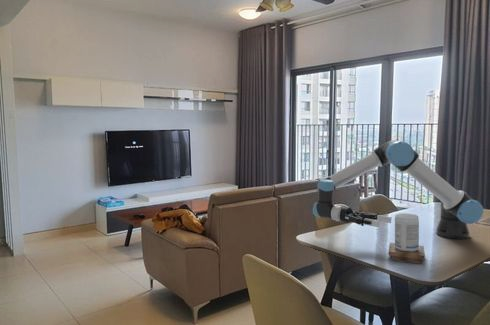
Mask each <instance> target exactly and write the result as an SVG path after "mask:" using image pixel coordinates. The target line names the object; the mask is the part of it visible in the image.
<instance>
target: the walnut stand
mask: <svg viewBox="0 0 490 325" xmlns="http://www.w3.org/2000/svg"><path fill="white" fill-rule="evenodd" d="M387 254H388V256H392V257H391V260H392V261H395V262H403V263H411V264H419V265H420V264H421V262H422V261H421V260H426V254H425V246H424V245H420V244H419V249H418V250H417V251H413V252H410V251H408V252H407V251H401V250H398V249H397V248H396V247H395V242H389V246H388V253H387Z"/></svg>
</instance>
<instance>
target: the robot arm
mask: <svg viewBox="0 0 490 325" xmlns="http://www.w3.org/2000/svg"><path fill="white" fill-rule="evenodd" d="M388 164H391V165H392V166H393V167H395V169H397V170H398V171H400V172H401V173H407V174H408V175H409V176H410V177H412V178H413V179H414V180H415V181H416V182H418V183H419V184H420V185H421V186H423V188H425V189H426V191H428V192H430V193H431V194H432V195H433V196H435V197H436V198H437V199H438V200H439V201H440V220H439V221H438V224H437V227H436V229H435V230H436V232H435V233H436V235H437V236H441V237H444V238H448V239H458V240H459V239H460V240H463V239H464V240H465V239H468V238H470V230H469V227H468V224H469V225H471V224H475V223H478V222H479V221H480V220H481V219H482V217H483V216H484V207H483V205H482V204H481V203H480V202H479V200H476V199H473V198H472V197H471V196H470V195H469V194H467V193H468V192H466V191H464V190H457V189H456V188H455V187H453V186H452V184H450V183H449V182H448V181H446V180H445V179H444V178H443V177H441V176H440V175H439V174H437V172H436V171H434V170H433V169H432V168H431V167H429V165H427V164H426V163H425V162H423V161H422V160H421V159H420V154H419V153H418V152H417V151H415V149H414V148H413V147H412V146H411V144H409V143H408V142H406V141H403V140H392V139H391V140H388V141H387V142H385V143H383V144H381V145H379V146H378V147H376V148H375V149H373V150H372V151H371V152H370V154H368V155H366V156H364V157H363V158H360V159H359V160H357V161H355V162H353V163H351V164H349V165H348V166H346V167H344V168H341V169H340V170H338V171H337V172H335V173H333V174H332V175H329V176H328V177H326V178H324V179H320V180H319V181H318V182H317V183H316V190H317V192H318V194H317V195H318V196H317V201H315V202H314V203H313V207H312V214H313V216H315V217H319V218H322V219H327V220H333V221H335V222H342V223H347V224H349V223H354V224H356V225H360V226H361V227H364V226H370V227H375V228H380V222H382V223H386V224H387V223H388V224H391V223H392V217H391V216H386V215H381V214H379V213H378V212H376V213H370V212H363V211H362V212H361V211H355V212H354V211H353V208H351V207H349V206H343V205H338V204H334V194H335V193H334V191H335V190H337V189H339V188H340V187H342V186H344V185H346V184H348V183H349V182H351V181H353V180H355V179H357V178H359V177H360V176H362V175H364V174H366V173H368V172H370V171H373V170H374V169H376V168H378V167H383V166H387V165H388Z"/></svg>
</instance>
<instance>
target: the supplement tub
mask: <svg viewBox="0 0 490 325" xmlns="http://www.w3.org/2000/svg"><path fill="white" fill-rule="evenodd" d="M419 233H420V221H419V216H418V215H416V214H413V213H396V214H395V216H394V243H395V247H396V248H397V249H398V250H401V251H407V252H408V251H410V252H413V251H417V250H418V249H419V245H420V243H419V242H420V234H419Z"/></svg>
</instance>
